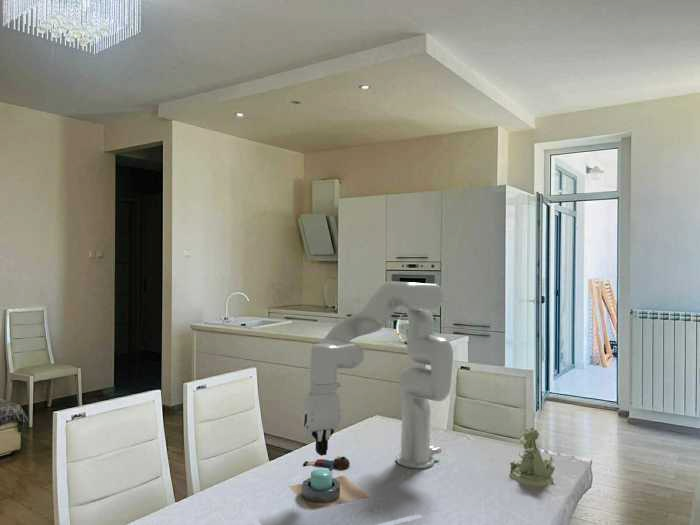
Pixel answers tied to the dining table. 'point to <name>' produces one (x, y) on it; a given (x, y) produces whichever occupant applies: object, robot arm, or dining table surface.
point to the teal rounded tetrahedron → (321, 479)
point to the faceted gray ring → (320, 492)
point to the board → (346, 493)
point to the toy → (330, 463)
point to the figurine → (532, 463)
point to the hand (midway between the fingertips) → (321, 453)
